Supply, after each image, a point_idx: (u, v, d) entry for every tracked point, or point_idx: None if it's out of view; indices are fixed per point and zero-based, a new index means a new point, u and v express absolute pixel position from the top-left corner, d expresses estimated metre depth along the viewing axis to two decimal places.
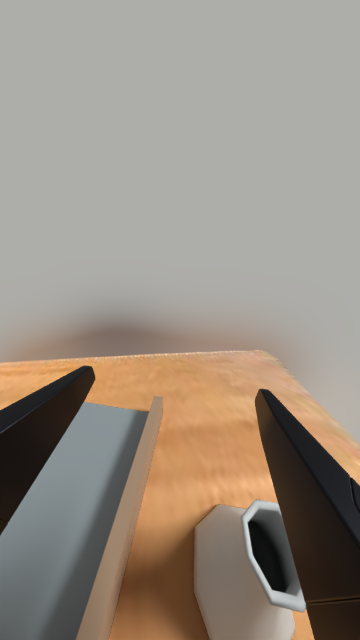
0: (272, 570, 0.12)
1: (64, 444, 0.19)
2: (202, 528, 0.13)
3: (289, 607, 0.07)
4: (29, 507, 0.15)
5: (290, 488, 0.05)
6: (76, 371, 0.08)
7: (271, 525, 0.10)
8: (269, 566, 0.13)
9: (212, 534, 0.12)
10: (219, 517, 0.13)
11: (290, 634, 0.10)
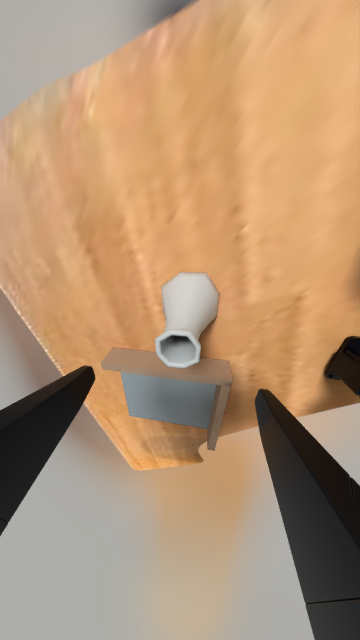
0: None
1: (153, 400, 0.29)
2: None
3: (199, 354, 0.10)
4: (181, 402, 0.28)
5: (290, 488, 0.05)
6: (76, 371, 0.08)
7: (168, 326, 0.12)
8: None
9: None
10: None
11: (207, 280, 0.17)
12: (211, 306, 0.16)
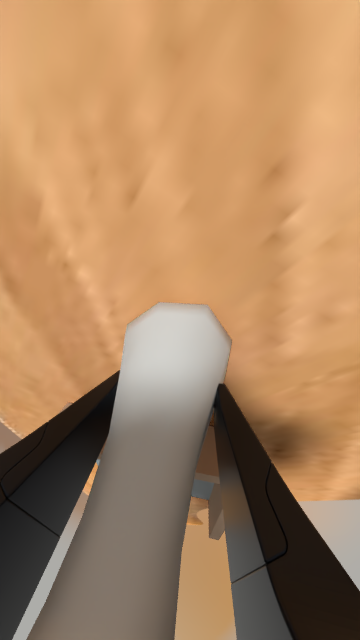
0: None
1: None
2: None
3: None
4: None
5: (225, 475, 0.05)
6: (114, 376, 0.08)
7: (86, 525, 0.04)
8: None
9: None
10: None
11: (209, 322, 0.08)
12: (218, 382, 0.08)
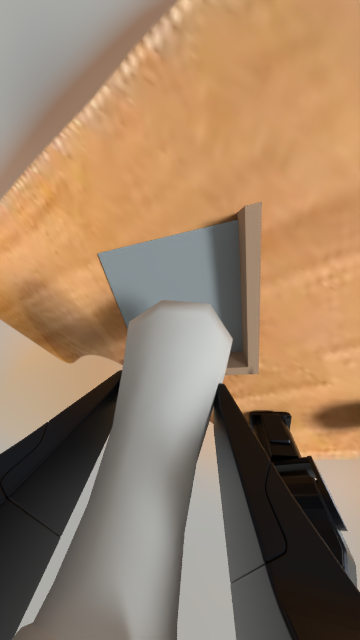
0: None
1: (157, 289, 0.20)
2: None
3: None
4: None
5: (225, 475, 0.05)
6: (114, 376, 0.08)
7: (91, 512, 0.04)
8: None
9: None
10: None
11: (211, 321, 0.09)
12: (219, 379, 0.08)
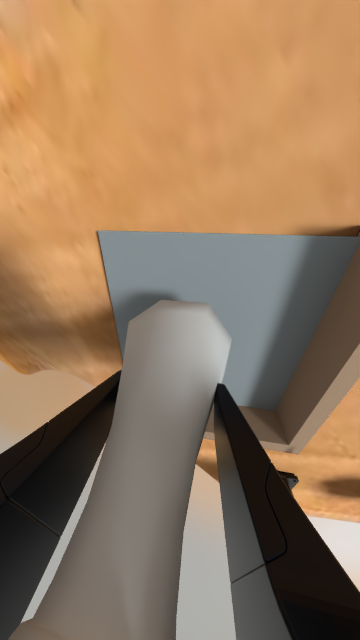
0: None
1: None
2: None
3: None
4: None
5: (225, 475, 0.05)
6: (114, 376, 0.08)
7: (91, 509, 0.04)
8: None
9: None
10: None
11: (210, 320, 0.09)
12: (218, 378, 0.08)
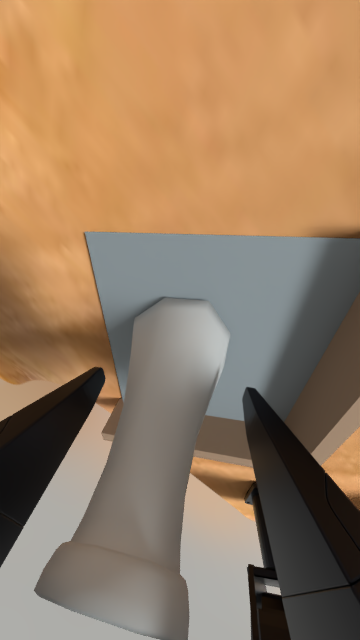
0: None
1: None
2: None
3: None
4: None
5: (269, 484, 0.05)
6: (87, 373, 0.08)
7: (109, 469, 0.05)
8: None
9: None
10: None
11: (210, 316, 0.09)
12: (217, 368, 0.09)
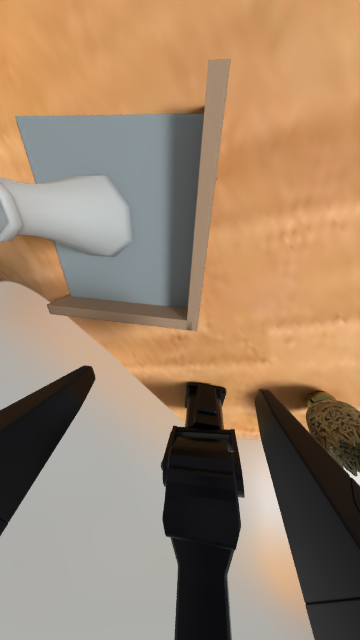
0: None
1: None
2: (82, 251, 0.16)
3: (6, 207, 0.07)
4: None
5: (290, 488, 0.05)
6: (76, 371, 0.08)
7: None
8: None
9: (71, 246, 0.14)
10: None
11: (106, 182, 0.14)
12: (103, 208, 0.13)
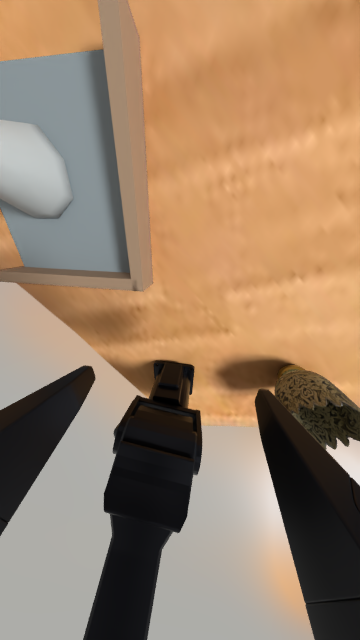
0: None
1: None
2: (21, 210, 0.16)
3: None
4: (58, 218, 0.17)
5: (290, 488, 0.05)
6: (76, 371, 0.08)
7: None
8: None
9: (0, 198, 0.14)
10: None
11: (33, 130, 0.13)
12: (24, 152, 0.12)
